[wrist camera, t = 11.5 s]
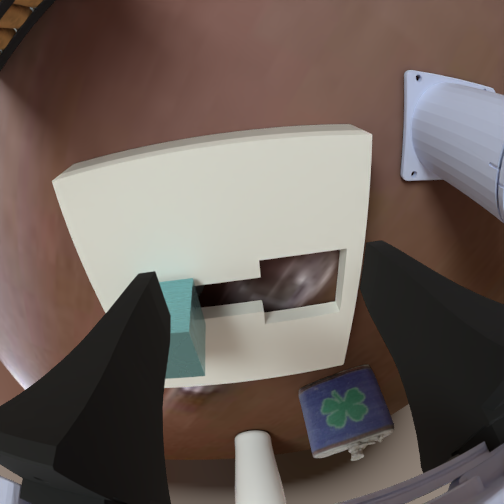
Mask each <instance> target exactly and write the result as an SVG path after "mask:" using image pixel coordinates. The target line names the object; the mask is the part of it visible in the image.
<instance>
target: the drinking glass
mask: <svg viewBox="0 0 504 504" xmlns="http://www.w3.org/2000/svg"><path fill="white" fill-rule="evenodd" d="M235 459H236V460H235V504H286V499H285V494H284V490H283V487H282V483H281V479H280V476H279V472H278V468H277V464H276V460H275V456H274V452H273V448H272V443H271V437H270V435H269V433H267V432H265V431H261V430H250V431H245V432H242V433H240V434H238V435H237V436H236V437H235Z"/></svg>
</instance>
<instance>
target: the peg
mask: <svg viewBox="0 0 504 504" xmlns="http://www.w3.org/2000/svg"><path fill="white" fill-rule="evenodd" d="M159 284H160V287H161V290H162V292H163V295H164V298H165V301H166V304H167V307H168V309H169V312H170V315H171V333H170V347H169V355H168V362H167V370H166V377H165V379H171V378H186V377H199V376H205V335H206V323H205V320H204V316H203V312H202V309H201V305H200V302H199V298H198V297H199V296H200V295H201V293H202V291H203V289H204V285H198V286H195V283H194V280H193V278H189V279H181V280H173V281H165V282H159Z"/></svg>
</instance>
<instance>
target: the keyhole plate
mask: <svg viewBox="0 0 504 504" xmlns="http://www.w3.org/2000/svg"><path fill="white" fill-rule="evenodd" d="M371 154H372V134H370V133H368V132H366V131H364V130H362V129H359V128H357V127H355V126H353V125H351V124H329V125H306V126H289V127H276V128H265V129H254V130H245V131H236V132H228V133H221V134H213V135H206V136H200V137H193V138H187V139H181V140H176V141H170V142H165V143H160V144H154V145H149V146H145V147H140V148H135V149H131V150H126V151H122V152H118V153H114V154H110V155H106V156H102V157H98V158H94V159H90V160H87V161H83V162H79V163H76V164H73V165H72V166H71V167H69V168H68V169H67V170H65V171H64V172H63V173H61V174H60V175H59V176H58V177H56V178H55V179H54V180H53V181H52V183H53V186H54V189H55V193H56V196H57V199H58V202H59V205H60V207H61V210H62V213H63V216H64V219H65V222H66V224H67V227H68V230H69V232H70V235H71V237H72V240H73V242H74V245H75V247H76V250H77V252H78V255H79V257H80V259H81V262H82V264H83V266H84V269H85V271H86V273H87V275H88V278H89V280H90V282H91V284H92V286H93V288H94V290H95V293H96V295H97V297H98V299H99V301H100V303H101V305H102V307H103V309H104V311H105V313H107V311H108V310H109V309H110V308H111V306H112V305H113V304H114V303H115V301H116V300H117V299H118V298H119V297H120V295H121V294H122V293H123V292H124V290H125V289H126V288H127V287H128V285H129V284H130V283H131V282H132V280H133V279H134V278H135V277H136V276H137V275H138V274H139V273H146V272H153V271H155V272H156V275H157V278H158V281H159V282H165V281H173V280H181V279H189V278H193V280H194V283H195V286H198V285H206V284H214V283H222V282H230V281H238V280H245V279H253V278H260V277H261V275H260V265H259V260H267V259H274V258H281V257H289V256H296V255H304V254H311V253H318V252H325V251H333V250H340V256H339V268H338V279H337V289H336V298H335V302H329V303H323V304H317V305H311V306H305V307H298V308H292V309H285V310H279V311H272V312H265V313H264V309H263V304H262V300H258V301H251V302H243V303H235V304H228V305H219V306H211V307H203V308H201V309H202V312H203V316H204V320H205V323H206V335H205V376H199V377H186V378H171V379H165V385H164V388H173V387H190V386H204V385H216V384H226V383H235V382H244V381H252V380H260V379H267V378H274V377H280V376H286V375H292V374H298V373H304V372H309V371H315V370H320V369H325V368H330V367H335V366H339V365H343V364H344V360H345V355H346V351H347V346H348V341H349V336H350V331H351V326H352V321H353V316H354V310H355V304H356V298H357V292H358V286H359V279H360V273H361V266H362V258H363V250H364V242H365V234H366V224H367V214H368V203H369V190H370V175H371Z"/></svg>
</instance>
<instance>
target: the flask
mask: <svg viewBox="0 0 504 504" xmlns="http://www.w3.org/2000/svg"><path fill="white" fill-rule="evenodd" d="M299 399H300V403H301V407H302V411H303V416H304V419H305V423H306V428H307V432H308V437H309V441H310V446H311V450H312V454H313V457H315V458H323V457H327V456H330V455H332V454H335V453H338V452H342V451H344V450H346V449H349V452H351V454H352V456H351V457H352V459H351V460H352V461H354V460H359V459H360V458H362V457H364V454H362V452H363V449H364V448H365V447H366V446H367V445H369V444H375V443H374V442H372V441H375V440H376V441H378V440H379V442H381V441H382V440H383V438H384V437H386V436H387V435H389V434H391V433H392V432H393V431H394V423H393V421H392V418H391V416H390V413H389V410H388V408H387V405H386V403H385V400H384V397H383V395H382V393H381V390H380V387H379V385H378V382H377V380H376V378H375V375H374V373H373V371H372V369H371V368H370V366H369V365H362V366H357V367H355V368H351V369H348V370H344V371H341V372H339V373H336V374H334V375H333V376H329V377H326V378H324V379H321V380H318V381H316V382H314V383H310V384H308V385H306V386H305V387H302V388H301V389H300V390H299Z"/></svg>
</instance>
